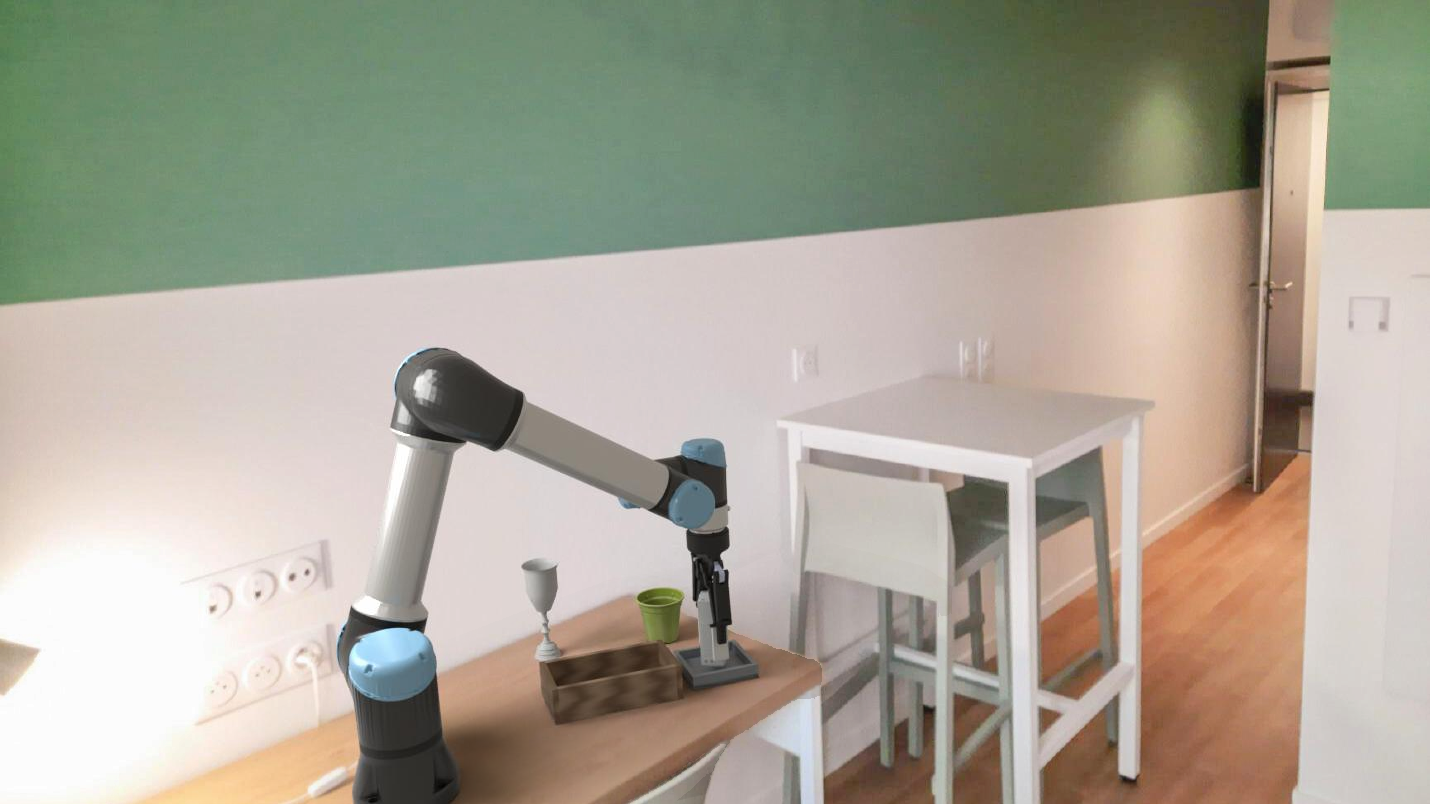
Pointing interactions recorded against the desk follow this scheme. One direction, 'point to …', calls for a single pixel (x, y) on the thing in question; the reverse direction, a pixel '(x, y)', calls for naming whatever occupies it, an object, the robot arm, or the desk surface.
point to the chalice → (542, 599)
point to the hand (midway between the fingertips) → (713, 650)
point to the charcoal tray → (716, 667)
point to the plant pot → (661, 613)
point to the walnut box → (610, 681)
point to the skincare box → (706, 631)
